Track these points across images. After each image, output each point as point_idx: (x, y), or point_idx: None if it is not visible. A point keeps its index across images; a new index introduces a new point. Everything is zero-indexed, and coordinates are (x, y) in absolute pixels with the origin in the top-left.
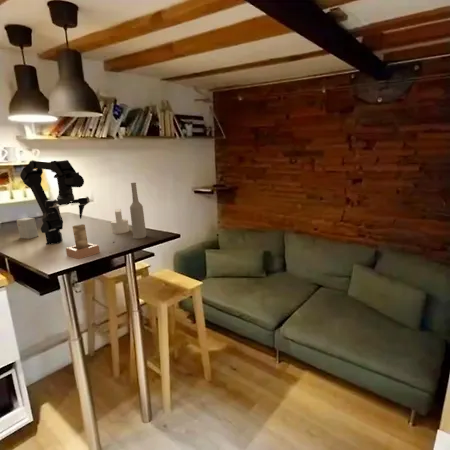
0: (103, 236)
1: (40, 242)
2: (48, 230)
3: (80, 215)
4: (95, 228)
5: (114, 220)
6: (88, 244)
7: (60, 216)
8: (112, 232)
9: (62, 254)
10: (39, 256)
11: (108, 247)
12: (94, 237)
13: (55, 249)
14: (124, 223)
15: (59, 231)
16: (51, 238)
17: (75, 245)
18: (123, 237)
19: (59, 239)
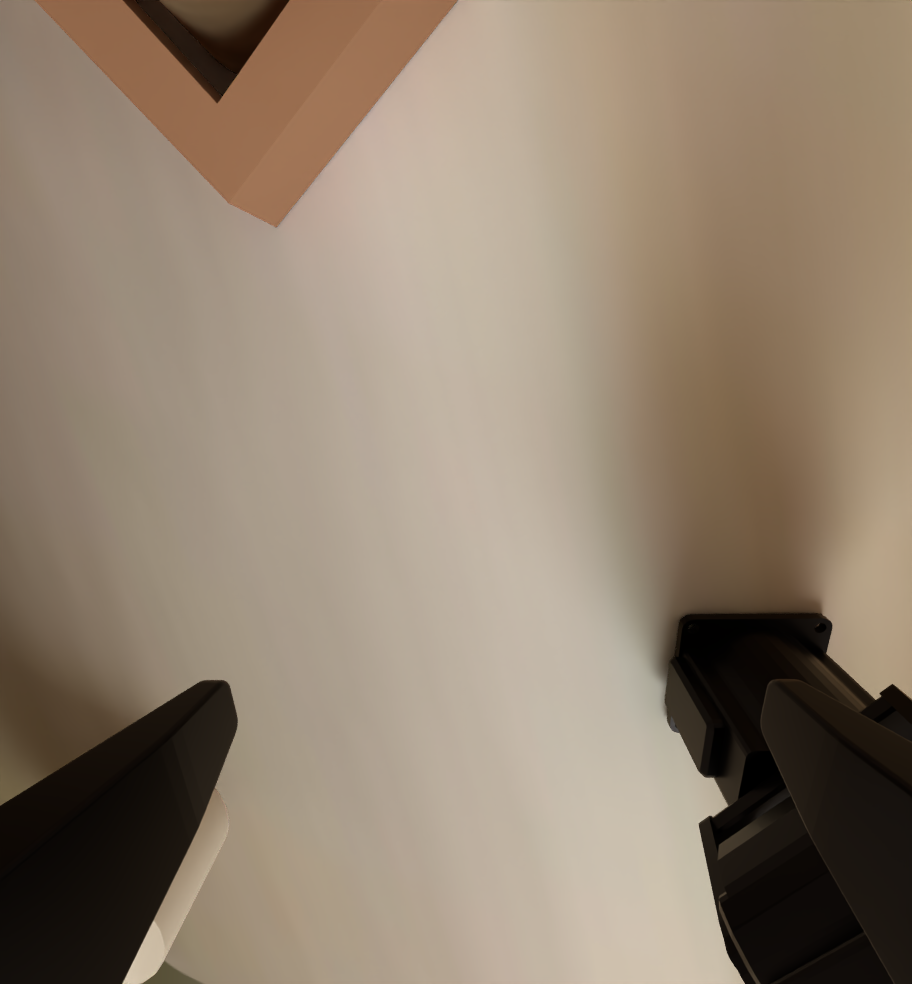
0: (269, 708)
1: None
2: (908, 711)
3: (127, 738)
4: (433, 974)
5: (146, 974)
6: (134, 16)
7: (838, 842)
8: (219, 800)
9: (550, 80)
10: (855, 90)
11: (32, 226)
12: (353, 707)
13: (687, 382)
14: None
15: (727, 779)
16: (794, 661)
17: (342, 31)
18: (34, 599)
19: (694, 666)
